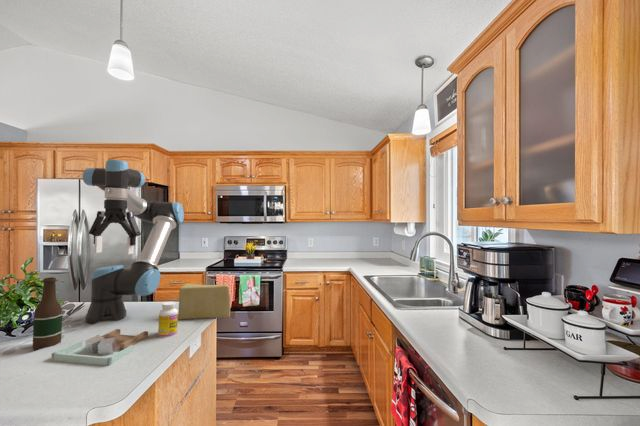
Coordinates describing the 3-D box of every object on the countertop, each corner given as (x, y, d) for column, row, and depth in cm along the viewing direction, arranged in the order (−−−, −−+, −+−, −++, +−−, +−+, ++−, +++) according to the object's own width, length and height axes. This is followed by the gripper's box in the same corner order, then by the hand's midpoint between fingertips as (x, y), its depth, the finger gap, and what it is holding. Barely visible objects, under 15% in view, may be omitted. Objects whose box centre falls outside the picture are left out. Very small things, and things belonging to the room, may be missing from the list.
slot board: (116, 336, 117) (116, 329, 117) (147, 339, 115) (148, 331, 115) (89, 350, 105) (89, 341, 105) (123, 353, 103) (124, 344, 103)
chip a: (99, 345, 106) (98, 334, 105) (106, 348, 104) (104, 338, 103) (86, 351, 103) (85, 340, 102) (92, 355, 101) (91, 344, 100)
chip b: (102, 350, 103) (101, 339, 103) (116, 348, 105) (115, 337, 104) (98, 357, 99) (97, 345, 99) (113, 354, 101) (112, 343, 100)
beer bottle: (66, 344, 109) (69, 277, 110) (40, 353, 102) (43, 281, 102) (52, 340, 112) (55, 275, 112) (26, 349, 104) (29, 279, 105)
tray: (80, 349, 105) (80, 340, 105) (133, 354, 103) (133, 345, 103) (51, 363, 95) (51, 353, 95) (109, 368, 93) (109, 358, 93)
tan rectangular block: (232, 313, 148) (233, 282, 148) (227, 320, 138) (228, 287, 138) (185, 313, 147) (186, 282, 147) (177, 320, 137) (178, 286, 137)
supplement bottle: (169, 340, 115) (170, 306, 115) (154, 338, 116) (155, 304, 116) (180, 334, 121) (181, 301, 121) (166, 332, 123) (167, 300, 123)
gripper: (78, 198, 118) (76, 253, 117) (138, 199, 115) (136, 255, 115) (95, 199, 125) (93, 250, 125) (151, 200, 123) (150, 253, 122)
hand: (114, 253), depth 120 cm, fingers open, 13 cm apart
